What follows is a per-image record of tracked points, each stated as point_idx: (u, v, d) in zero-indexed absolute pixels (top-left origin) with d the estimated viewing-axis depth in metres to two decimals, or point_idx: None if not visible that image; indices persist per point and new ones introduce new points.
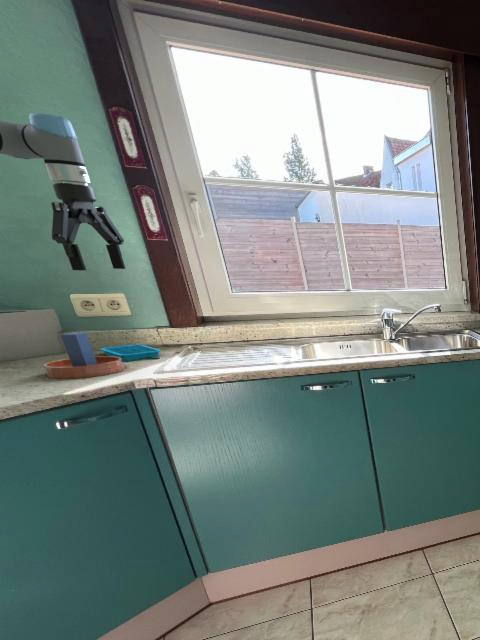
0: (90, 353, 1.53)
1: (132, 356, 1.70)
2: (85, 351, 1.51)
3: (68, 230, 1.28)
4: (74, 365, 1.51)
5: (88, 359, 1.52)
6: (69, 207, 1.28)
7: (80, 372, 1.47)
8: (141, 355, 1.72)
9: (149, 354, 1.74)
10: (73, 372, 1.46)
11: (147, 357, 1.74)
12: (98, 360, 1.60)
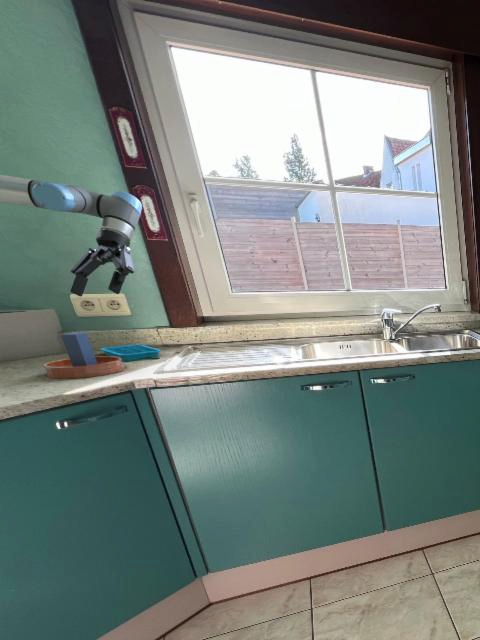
0: (90, 353, 1.53)
1: (132, 356, 1.70)
2: (85, 351, 1.51)
3: (122, 265, 1.56)
4: (74, 365, 1.51)
5: (88, 359, 1.52)
6: None
7: (80, 372, 1.47)
8: (141, 355, 1.72)
9: (149, 354, 1.74)
10: (73, 372, 1.46)
11: (147, 357, 1.74)
12: (98, 360, 1.60)
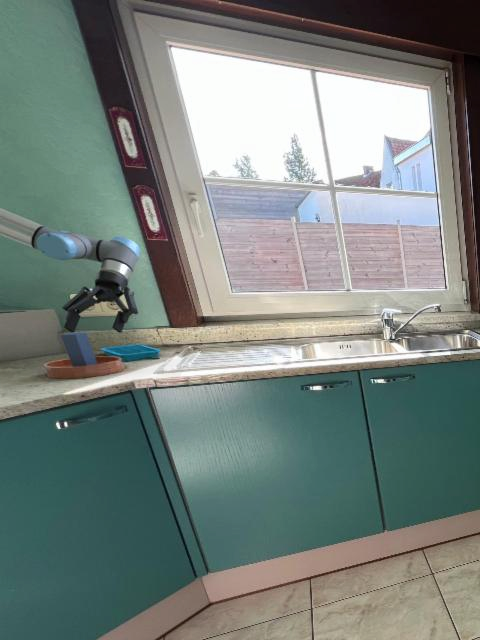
0: (90, 353, 1.53)
1: (132, 356, 1.70)
2: (85, 351, 1.51)
3: (124, 306, 1.61)
4: (74, 365, 1.51)
5: (88, 359, 1.52)
6: None
7: (80, 372, 1.47)
8: (141, 355, 1.72)
9: (149, 354, 1.74)
10: (73, 372, 1.46)
11: (147, 357, 1.74)
12: (98, 360, 1.60)
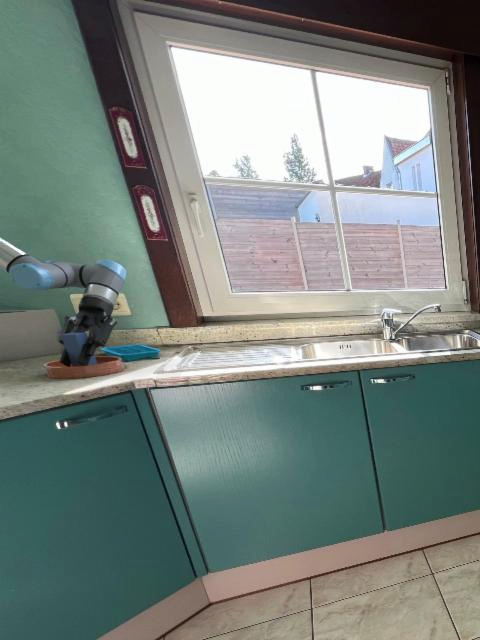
0: None
1: (132, 356, 1.70)
2: None
3: None
4: (74, 365, 1.51)
5: None
6: None
7: (80, 372, 1.47)
8: (141, 355, 1.72)
9: (149, 354, 1.74)
10: (73, 372, 1.46)
11: (147, 357, 1.74)
12: (98, 360, 1.60)
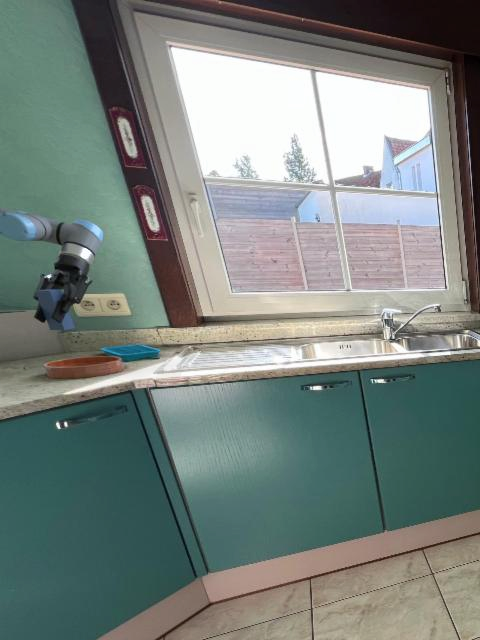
0: None
1: (132, 356, 1.70)
2: None
3: None
4: (49, 321, 1.53)
5: None
6: None
7: (80, 372, 1.47)
8: (141, 355, 1.72)
9: (149, 354, 1.74)
10: (73, 372, 1.46)
11: (147, 357, 1.74)
12: (98, 360, 1.60)
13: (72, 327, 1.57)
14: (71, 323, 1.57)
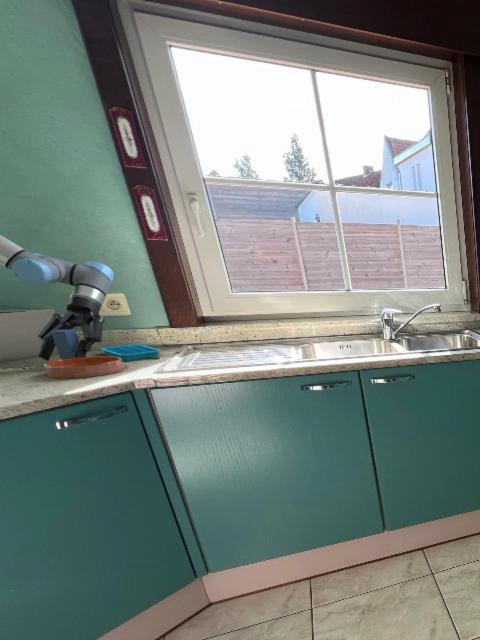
0: None
1: (132, 356, 1.70)
2: (74, 347, 1.59)
3: (90, 333, 1.62)
4: None
5: None
6: None
7: (80, 372, 1.47)
8: (141, 355, 1.72)
9: (149, 354, 1.74)
10: (73, 372, 1.46)
11: (147, 357, 1.74)
12: (98, 360, 1.60)
13: None
14: None
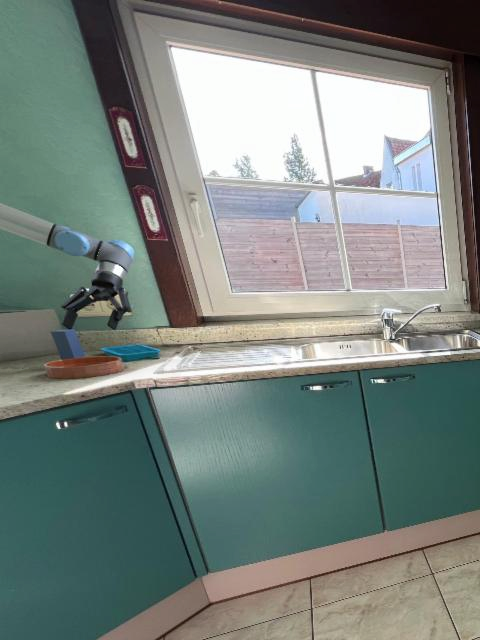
0: (78, 349, 1.61)
1: (132, 356, 1.70)
2: (74, 347, 1.59)
3: (119, 304, 1.72)
4: None
5: (76, 355, 1.60)
6: None
7: (80, 372, 1.47)
8: (141, 355, 1.72)
9: (149, 354, 1.74)
10: (73, 372, 1.46)
11: (147, 357, 1.74)
12: (98, 360, 1.60)
13: None
14: None
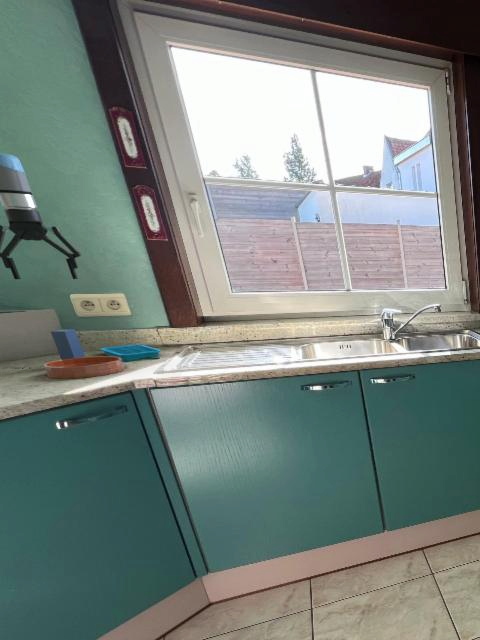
0: (78, 349, 1.61)
1: (132, 356, 1.70)
2: (74, 347, 1.59)
3: (62, 248, 1.65)
4: None
5: (76, 355, 1.60)
6: None
7: (80, 372, 1.47)
8: (141, 355, 1.72)
9: (149, 354, 1.74)
10: (73, 372, 1.46)
11: (147, 357, 1.74)
12: (98, 360, 1.60)
13: None
14: None
